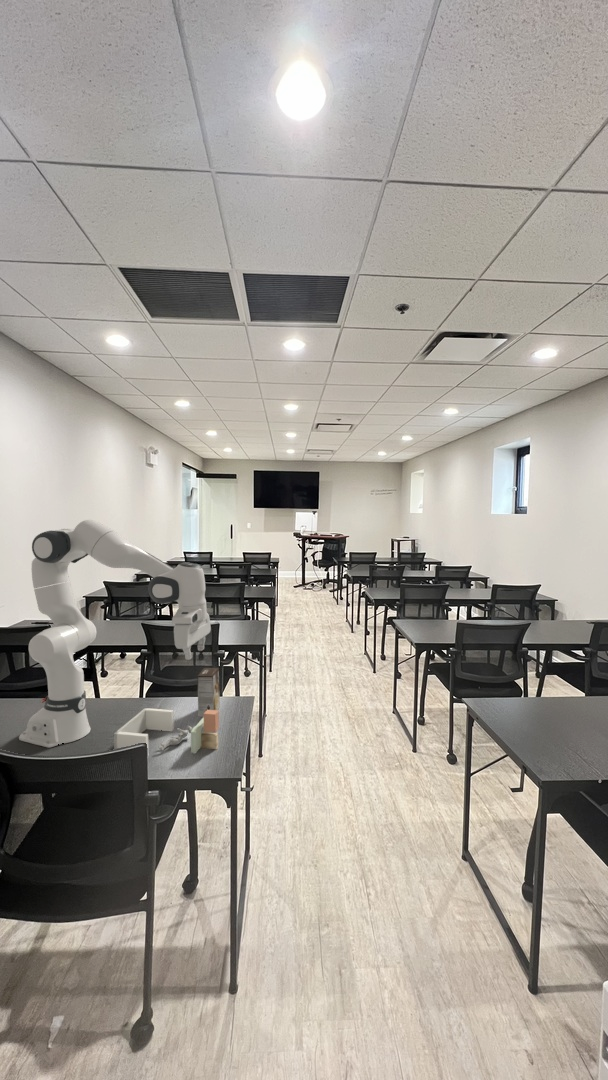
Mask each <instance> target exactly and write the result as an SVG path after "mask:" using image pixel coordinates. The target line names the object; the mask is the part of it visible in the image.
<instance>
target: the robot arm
mask: <svg viewBox="0 0 608 1080" xmlns="http://www.w3.org/2000/svg"><path fill="white" fill-rule="evenodd" d="M31 551H32V554H33V556H34V559H32V561H31V580H32V587H33V591H34V595H35V599H36V604H37V607H38V610H39V612H40V613H41V614H43V615H45V616H47V617H48V618H50V621H52V623H53V625H54V626H52V627H48V628H46V629H44V630H42V631H40V632H39V633H37V634H36V635H34V636H33V637H32V638H31V639H30V640H29V643H28V653H29V656H30V657H31V659H32V660H34V661H35V662H36V663H39V664H40V665H41V666H42V668H43V670H44V671H45V675H46V680H47V690H48V691H47V694H48V695H46V696H45V698H42V699H41V702H40V703H41V704H43V703H44V705H43V706H42V708H40V709H39V710H38V711H37V712H35V714H33V715H32V716H31V717H30V718H29V720H28V722H27V725H26V729H25V730H24V731H23V732H21V734H20V735H19V736H18V739H19V741H21V742H25V743H29V744H33V745H35V746H36V745H37V746H42V747H44V748H53V747H56V746H58V744H59V745H63V744H62V743H64V744H68V743H72V742H75V741H77V740H79V739H83V738H84V737H85V736H87V735H89V733H90V732H91V726H90V724H89V719H88V715H87V709H86V705H87V693H86V690H85V674H84V670H83V668H82V667H81V666H79V665H77V664H76V663H75V660H74V653H76V652H79V651H81V650H83V649H86V648H87V647H88V646H89V645H91V644H92V643H93V642H94V641H95V639H96V637H97V634H98V633H97V632H98V631H97V627H96V625H95V624H94V622H93V621H91V620H90V619H88V618H87V617H85V616H84V614H83V613H82V612H81V610H80V609H79V606H78V605H77V603H76V600H75V598H74V597H75V596H74V593H73V588H72V586H71V581H70V576H69V573H68V567H69V565H70V563H71V564H72V563H73V564H75V563H77V562H79V561H81V560H82V559H84V558H86V557H88V556H90V557H91V558H92V559H94V560H95V561H97V562H98V563H99V564H102V565H104V566H106V567H108V568H113V569H134V570H139V571H141V572H143V573H144V574H146V575H148V576H150V577H152V579H150V581H149V583H148V589H147V590H148V591H147V592H148V594H149V597H150V598H151V600H152V601H153V602H155V603H157V604H159V605H164V604H166V605H167V604H170V603H173V602H177V604H178V605H177V606H178V609H177V610H176V612H175V613H174V615H173V616H172V618H171V623H172V624H173V639H174V640H173V642H174V646H175V648H176V649H178V650H182V652H183V653H184V658H185V660H186V661H190V660H192V659H193V653H192V652H191V650H192V649H191V648H192V646H193V645H194V644H196V643H197V642H198V644H197V650H198V651H199V652H201V651H203V650H205V642H206V636H207V635H209V634H210V633H211V630H212V627H211V621H210V620H211V619H210V618H211V617H210V615H209V613H208V611H207V610H208V608H207V600H206V595H205V594H206V578H205V572H204V569H203V567H202V566H201V565H200V564H198V563H194V562H182V563H181V562H180V563H179V564H178V565H177V566H176V567H173V566H171V565H169V564H168V563H167V562H164V561H163V560H161V559H159V558H157V557H156V556H155V555H152V554H151V553H149V552H147V551H145V550H143V549H142V548H140V547H139V546H137V545H135V544H134V543H132V542H131V541H129V540H128V539H127V538H125V537H123V536H122V535H121V534H119V533H118V532H116V531H114V530H113V529H111V528H110V527H108V526H106V525H105V524H102V523H101V522H99V521H96V520H93V519H84V520H82V521H80V522H79V523H78V524H77V525H76V526H75V527H74V528H61V529H55V530H46V531H43V532H41V533H39V534H37V535H35V536H34V539H33V540H32V543H31Z"/></svg>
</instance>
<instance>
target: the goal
mask: <svg viewBox="0 0 608 1080" xmlns="http://www.w3.org/2000/svg"><path fill="white" fill-rule="evenodd" d="M174 713H175V711H174V710H173V709H160V708H149V707H148V708H147V707H144V708H143V709H142V710H141V711H139V712H138V713H137V714H136V715H134V716H133V717H132V718H131V719H129V721H127V722H126V723H125V724H124V725H122V726H121V727H120V728H119V729H118V730H116V731H115V732H114V733H113V748H114V749H116V748H121V747H126V746H131V745H135V744H138V743H146V744H147V748H148V757H149V751H150V750H149V749H150V748H149V733H143V732H144V731H146V730H151V731H152V730H153V731H161V730H162V732H173V731H174V730H175V719H174V718H175V715H174ZM114 749H113V750H114Z"/></svg>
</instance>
